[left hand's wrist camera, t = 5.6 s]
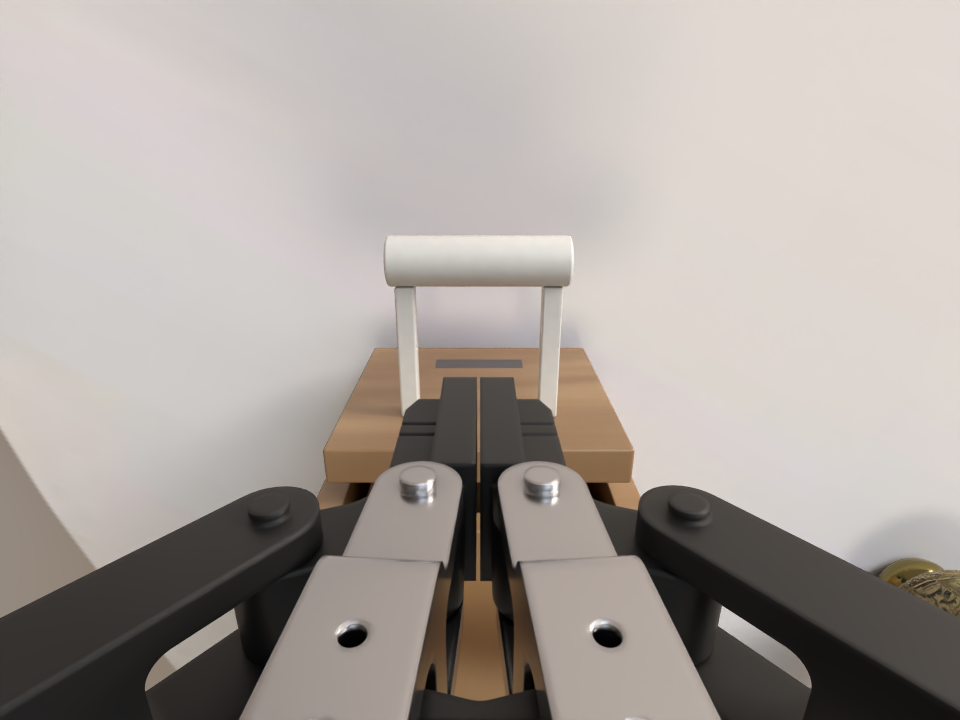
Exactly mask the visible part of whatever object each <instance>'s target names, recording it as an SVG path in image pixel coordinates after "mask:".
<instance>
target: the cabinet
mask: <svg viewBox="0 0 960 720" xmlns="http://www.w3.org/2000/svg"><path fill="white" fill-rule="evenodd" d="M370 485H371V483H328V482H327V480H326V479H325V481H324V483H323V485H322V488H321V490H320V492H319V494H318V496H317V499H318V501H319V506H320V510H321V509H326V508H331V507H336V506H341V505H345V504H349V503H353V502H355V501H358V500H361V499H363V498H365V497H367V494H368V491H369V488H370ZM587 485H588V488H589V491H590V494H591V497H592V498H593V499H595V500H597V501H600V502H603V503H606V504H610V505H614V506H619V507H624V508H629V509H634V510H638V503H639V500H640V498H641V497H640V495H639V493H638V490H637V488H636V486H635V484H634V481H633V479H632V477H631V481H630V482H629V483H587ZM454 696H457V697H461V698H465V699H469V700H475V701H485V700H491V699H495V698H499V697H503V696H506V695H505V687H504V679H503V671H502V664H501V656H500V648H499V640H498V632H497V625H496V605H495V603H494V601H493V596H492V581H480V513H477V547H476V581H464V625H463V632H462V640H461V648H460V656H459V664H458V671H457V679H456V687H455V695H454Z"/></svg>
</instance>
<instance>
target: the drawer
mask: <svg viewBox="0 0 960 720" xmlns="http://www.w3.org/2000/svg"><path fill="white" fill-rule="evenodd" d="M573 262H574V252H573V242H572V239H571V237H570V236H568V235H389V236H387V237H386V240H385V244H384V272H385V278H386V282H387V284H388V286H396V287H395V308H396V326H397V344H398V348H375V349H374V351H373V353H372V355H371V357H370V359H369V361H368V363H367V365H366V367H365V369H364V371H363V373H362V375H361V377H360V379H359V381H358V383H357V384H356V386H355V388H354V390H353V392H352V394H351V396H350V398H349V400H348V402H347V404H346V406H345V408H344V410H343V412H342V414H341V416H340V418H339V420H338V422H337V424H336V426H335V428H334V430H333V432H332V434H331V436H330V438H329V440H328V442H327V444H326V446H325V448H324V450H323V454H324V463H325V472H326V480H327V482H328V483H371V485H370V488H369V491H368V494H367V496H369V494H370V492H371V490H372V488H373V485H374V483H375V481H376V480H377V478H378V477H379V476H380V475H381V474H382V473H383V472H385V471H386V470H388V469H389V468H390V464H391V461H392V457H393V453H394V450H395V446H396V443H397V439H398V436H399V432H400V428H401V425H402V421H403V417H404V414H405V410H406V409H407V408H408V407H410V406H411V405H412V404H413V403H414V402H416V401H417V400H418V399H440V396H441V389H442V383H443V377H477V513H480V377H514V383H515V390H516V397H517V399H539V400H540V401H541V402H543V403H544V404H545V405H546V406H547V407H548V408H550V409H551V410H552V414H553V418H554V422H555V426H556V429H557V433H558V437H559V441H560V444H561V448H562V452H563V456H564V459H565V463H566V467H568V468H570V469H572V470H574V471H575V472H577V473H578V474H579V475H580V476H581V477H582V478H583V480H584V481H585V483H586V485H587V483H629V482H630V481H631V476H632V467H633V458H634V449H633V447H632V445H631V443H630V441H629V439H628V437H627V435H626V433H625V431H624V429H623V427H622V425H621V423H620V421H619V419H618V417H617V415H616V413H615V411H614V409H613V407H612V405H611V403H610V401H609V399H608V397H607V395H606V393H605V391H604V389H603V387H602V385H601V383H600V381H599V379H598V377H597V375H596V373H595V371H594V369H593V367H592V365H591V363H590V361H589V359H588V357H587V355H586V353H585V351H584V349H583V348H560V337H561V319H562V300H563V288H562V286H569V285H570V283H571V280H572V274H573ZM415 286H542V297H541V322H540V347H539V348H418V335H417V311H416V287H415ZM587 488H588V485H587ZM588 490H589V488H588ZM589 492H590V491H589Z"/></svg>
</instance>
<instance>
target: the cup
mask: <svg viewBox="0 0 960 720" xmlns="http://www.w3.org/2000/svg"><path fill="white" fill-rule="evenodd" d="M878 578H880V579H882V580H884V581H886V582H888V583H890V584H892V585H894V586H896V587H898V588H900V589H902V590H904V591H906V592H908V593H910V594H912V595H914V596H916V597H918V598H920V599H922V600H924V601H926V602H928V603H930V604H932V605H934V606H936V607H938V608H940V609H942V610H944V611H946V612H948V613H950V614H952V615H954V616H956V617H958V618H960V571H958V570H944V569H943V568H942V567H940V566H939V565H937V564H935V563H933V562H930V561H928V560H925V559H921V558H906V559H902V560H898V561H896V562H894V563H892V564H890V565H889V566H887V567H886V568H885V569H884V570H883V571H882V572H881V573H880V574H879V576H878Z"/></svg>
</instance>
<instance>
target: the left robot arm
mask: <svg viewBox="0 0 960 720" xmlns="http://www.w3.org/2000/svg"><path fill="white" fill-rule="evenodd" d="M476 547H477V377H443V383H442V389H441V396H440V399H418V400H417V401H416V402H414V403H413V404H412V405H411V406H410V407H408V408H407V409H406V410H405V414H404V417H403V421H402V425H401V428H400V432H399V436H398V439H397V443H396V446H395V450H394V453H393V457H392V461H391V464H390V468H389V469H388V470H386V471H385V472H383V473H382V474H381V475H380V476H379V477H378V478H377V480H376V481H375V483H374V485H373V488H372V490H371V492H370V494H369V496H367V497H365V498H363V499H361V500H358V501H355V502H353V503H349V504H345V505H341V506H336V507H331V508H326V509H321V510H320V506H319V501H318V499H317V498H316V496H315V495H314V494H312V493H311V492H309V491H307V490H305V489H301V488H297V487H273V488H267V489H263V490H259V491H256V492H253V493H251V494H248V495H246V496H244V497H242V498H240V499H238V500H236V501H234V502H232V503H230V504H228V505H226V506H224V507H222V508H220V509H218V510H216V511H214V512H212V513H210V514H208V515H206V516H204V517H202V518H200V519H198V520H196V521H194V522H192V523H190V524H188V525H186V526H184V527H182V528H180V529H178V530H176V531H174V532H172V533H170V534H168V535H166V536H164V537H162V538H160V539H158V540H156V541H154V542H152V543H150V544H148V545H146V546H144V547H142V548H140V549H138V550H136V551H134V552H132V553H130V554H128V555H126V556H124V557H122V558H120V559H118V560H116V561H114V562H112V563H110V564H108V565H106V566H104V567H102V568H100V569H98V570H96V571H94V572H92V573H90V574H88V575H86V576H84V577H82V578H80V579H78V580H76V581H74V582H72V583H70V584H68V585H66V586H64V587H62V588H60V589H58V590H56V591H54V592H52V593H50V594H48V595H46V596H44V597H42V598H40V599H38V600H36V601H34V602H32V603H30V604H28V605H26V606H24V607H22V608H20V609H18V610H16V611H14V612H12V613H10V614H8V615H6V616H4V617H2V618H0V720H960V618H958V617H956V616H954V615H952V614H950V613H948V612H946V611H944V610H942V609H940V608H938V607H936V606H934V605H932V604H930V603H928V602H926V601H924V600H922V599H920V598H918V597H916V596H914V595H912V594H910V593H908V592H906V591H904V590H902V589H900V588H898V587H896V586H894V585H892V584H890V583H888V582H886V581H884V580H882V579H880V578H878V577H876V576H874V575H872V574H870V573H868V572H866V571H864V570H862V569H860V568H858V567H856V566H854V565H852V564H850V563H848V562H846V561H844V560H842V559H840V558H838V557H836V556H834V555H832V554H830V553H828V552H826V551H824V550H822V549H820V548H818V547H816V546H814V545H812V544H810V543H808V542H806V541H804V540H802V539H800V538H798V537H796V536H794V535H792V534H790V533H788V532H786V531H784V530H782V529H780V528H778V527H776V526H774V525H772V524H770V523H768V522H766V521H764V520H762V519H760V518H758V517H756V516H754V515H752V514H750V513H748V512H746V511H744V510H742V509H740V508H738V507H736V506H734V505H732V504H730V503H728V502H726V501H724V500H722V499H720V498H718V497H716V496H714V495H712V494H710V493H708V492H705V491H702V490H699V489H695V488H691V487H685V486H675V485H671V486H660V487H656V488H653V489H651V490H649V491H647V492H646V493H644V494H643V495H642V496H641V498H640V500H639V503H638V510H634V509H629V508H624V507H619V506H614V505H610V504H606V503H603V502H600V501H597V500H595V499H593V498H592V497H591V494H590V492H589V490H588V488H587V485H586V483H585V481H584V480H583V478H582V477H581V476H580V475H579V474H578V473H577V472H575V471H574V470H572V469H570V468H568V467H566V463H565V459H564V456H563V452H562V448H561V444H560V441H559V437H558V433H557V429H556V426H555V422H554V418H553V414H552V410H551V409H550V408H548V407H547V406H546V405H545V404H544V403H543V402H541V401H540V400H539V399H517V397H516V390H515V383H514V377H480V581H492V596H493V601H494V603H495V605H496V625H497V632H498V640H499V648H500V656H501V664H502V671H503V679H504V687H505V695H506V696H503V697H499V698H495V699H491V700H485V701H475V700H469V699H465V698H461V697H457V696H454V695H455V687H456V679H457V671H458V664H459V656H460V648H461V640H462V632H463V625H464V581H476ZM722 606H724V607H725V608H727V609H728V610H730V611H732V612H733V613H735V614H736V615H738V616H739V617H741V618H742V619H744V620H745V621H747V622H749V623H750V624H752V625H753V626H755V627H756V628H758V629H759V630H761V631H762V632H764V633H766V634H767V635H769V636H770V637H772V638H773V639H775V640H776V641H778V642H779V643H781V644H783V645H784V646H786V647H787V648H788V649H790V650H791V651H792V652H793V653H794V654H795V655H796V656H797V657H798V658H799V659H800V660H801V661H802V663H803V664H804V665H805V667H806V669H807V670H808V673H809V675H810V678H811V683H812V688H811V689H810V688H808V687H807V686H805V685H804V684H802V683H801V682H799V681H798V680H796V679H795V678H793V677H792V676H790V675H789V674H787V673H786V672H785V671H783V670H782V669H780V668H779V667H777V666H776V665H774V664H773V663H771V662H770V661H768V660H767V659H765V658H764V657H762V656H761V655H760V654H758V653H757V652H755V651H754V650H752V649H751V648H749V647H748V646H746V645H745V644H743V643H742V642H740V641H739V640H738V639H736V638H735V637H733V636H732V635H730V634H729V633H727V632H726V631H724V630H723V629H721V628H720V627H718V622H719V617H720V612H721V607H722ZM233 608H234V609H235V614H236V619H237V624H238V629H237V630H236V631H234V632H233V633H231V634H230V635H228V636H227V637H225V638H224V639H222V640H221V641H220V642H218V643H217V644H215V645H214V646H212V647H211V648H209V649H208V650H206V651H205V652H203V653H202V654H200V655H199V656H197V657H196V658H195V659H193V660H192V661H190V662H189V663H187V664H186V665H184V666H183V667H181V668H180V669H178V670H177V671H176V672H174V673H173V674H171V675H170V676H168V677H167V678H165V679H164V680H162V681H161V682H159V683H158V684H156V685H155V686H153V687H152V688H150V689H149V690H147V691H146V692H145V682H146V679H147V676H148V674H149V672H150V670H151V668H152V667H153V666H154V664H155V663H156V662H157V661H158V659H159V658H160V657H161V656H162V655H164V654H165V653H166V652H167V651H169V650H170V649H171V648H173V647H174V646H176V645H177V644H179V643H181V642H182V641H184V640H185V639H187V638H188V637H190V636H191V635H193V634H194V633H196V632H198V631H199V630H201V629H202V628H204V627H205V626H207V625H208V624H210V623H211V622H213V621H215V620H216V619H218V618H219V617H221V616H222V615H224V614H225V613H227V612H228V611H230V610H232V609H233Z"/></svg>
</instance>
